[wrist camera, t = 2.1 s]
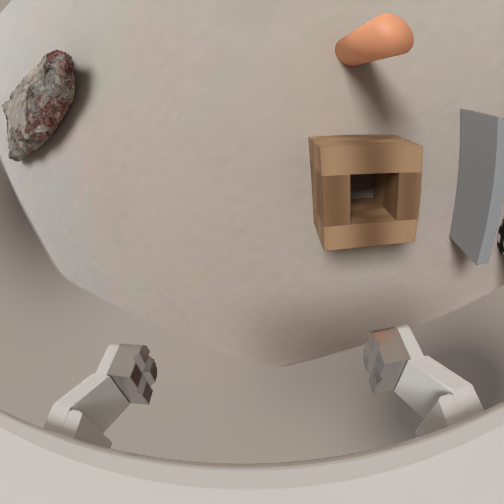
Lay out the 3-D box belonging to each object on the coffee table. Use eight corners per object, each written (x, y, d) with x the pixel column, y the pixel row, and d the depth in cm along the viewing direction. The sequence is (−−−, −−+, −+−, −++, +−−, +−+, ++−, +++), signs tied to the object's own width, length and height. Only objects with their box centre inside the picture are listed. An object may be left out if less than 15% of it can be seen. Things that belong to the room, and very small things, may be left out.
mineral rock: (26, 166, 27) (4, 177, 23) (5, 119, 24) (-18, 126, 20) (104, 97, 24) (81, 99, 20) (79, 43, 20) (55, 40, 16)
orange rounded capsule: (362, 38, 20) (410, 17, 12) (366, 66, 22) (416, 57, 13) (333, 37, 20) (368, 11, 12) (337, 65, 22) (375, 52, 13)
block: (394, 134, 25) (422, 146, 20) (391, 215, 29) (414, 241, 24) (308, 137, 26) (320, 147, 21) (313, 222, 30) (324, 250, 25)
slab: (472, 110, 22) (509, 120, 16) (460, 236, 30) (487, 262, 24) (460, 108, 22) (497, 117, 17) (449, 237, 30) (476, 264, 25)
